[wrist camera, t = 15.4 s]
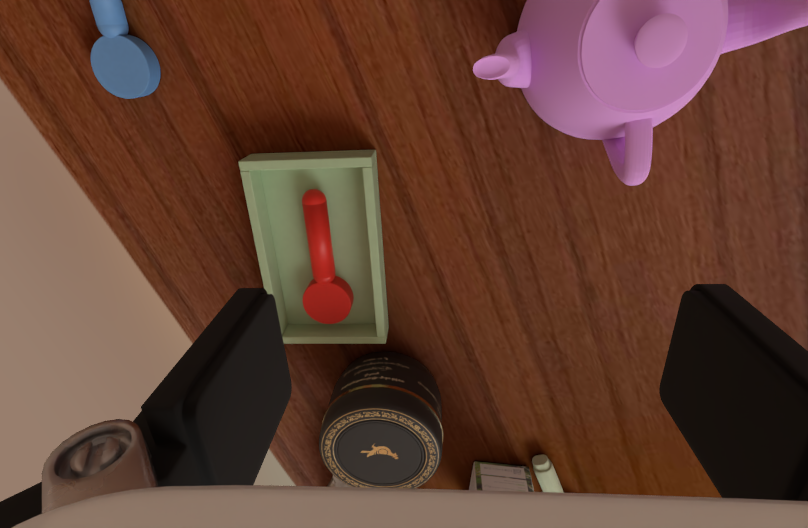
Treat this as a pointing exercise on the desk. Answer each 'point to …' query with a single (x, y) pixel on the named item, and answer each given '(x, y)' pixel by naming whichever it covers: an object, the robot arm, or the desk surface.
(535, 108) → the teapot
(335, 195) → the tray
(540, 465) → the hook
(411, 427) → the jar
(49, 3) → the desk surface
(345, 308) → the red spoon
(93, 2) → the blue spoon
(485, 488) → the syrup box
